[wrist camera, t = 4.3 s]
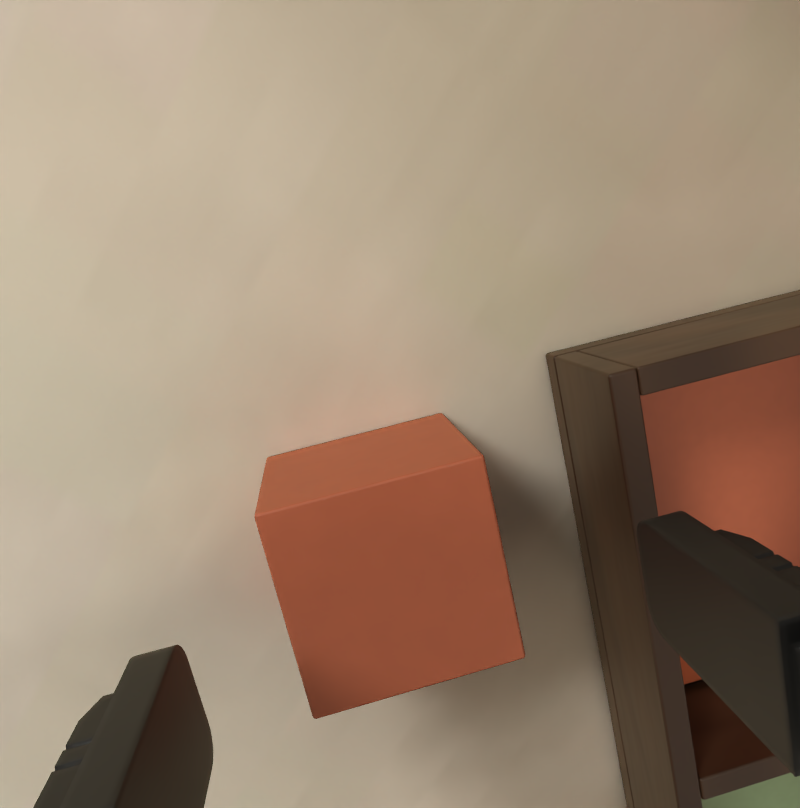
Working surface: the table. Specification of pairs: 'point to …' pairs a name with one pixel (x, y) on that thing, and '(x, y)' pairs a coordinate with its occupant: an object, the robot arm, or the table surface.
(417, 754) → the table surface
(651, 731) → the sorting tray
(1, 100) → the table surface
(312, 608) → the terracotta block
